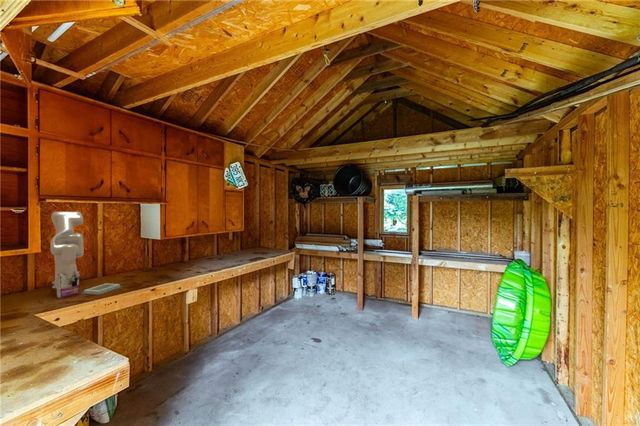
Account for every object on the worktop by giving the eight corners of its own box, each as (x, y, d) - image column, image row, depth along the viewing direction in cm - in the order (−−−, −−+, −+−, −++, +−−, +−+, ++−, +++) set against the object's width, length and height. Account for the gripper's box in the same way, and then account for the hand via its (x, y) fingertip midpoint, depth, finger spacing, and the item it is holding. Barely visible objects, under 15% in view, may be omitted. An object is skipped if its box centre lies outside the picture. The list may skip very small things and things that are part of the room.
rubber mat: (80, 294, 191) (80, 293, 191) (104, 286, 211) (104, 285, 211) (100, 295, 190) (100, 294, 190) (123, 287, 210) (123, 286, 210)
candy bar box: (75, 292, 194) (75, 271, 194) (79, 293, 192) (79, 271, 192) (56, 297, 183) (56, 274, 183) (60, 298, 182) (60, 275, 181)
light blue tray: (83, 293, 192) (83, 290, 192) (105, 285, 210) (106, 283, 210) (98, 293, 191) (98, 291, 191) (119, 286, 209) (119, 284, 209)
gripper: (51, 263, 184) (51, 287, 184) (74, 263, 183) (73, 287, 183) (63, 261, 192) (62, 284, 192) (84, 261, 190) (84, 284, 190)
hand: (68, 286), depth 187 cm, fingers open, 9 cm apart
